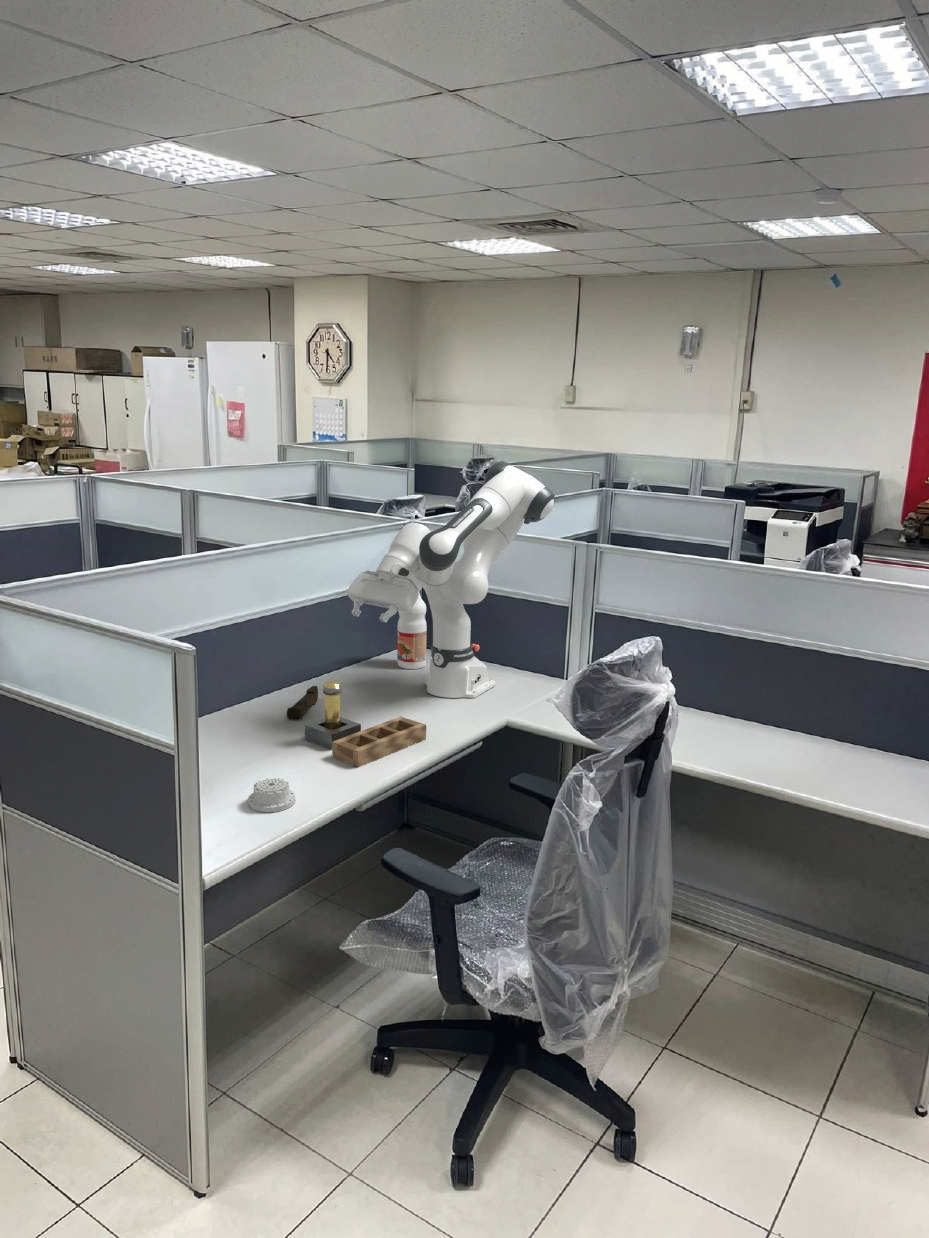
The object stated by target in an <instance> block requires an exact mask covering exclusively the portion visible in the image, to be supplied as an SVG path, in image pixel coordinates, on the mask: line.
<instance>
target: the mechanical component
mask: <svg viewBox="0 0 929 1238" xmlns="http://www.w3.org/2000/svg"><path fill="white" fill-rule="evenodd" d="M295 804H296V793H294V791H292V790H290V784H289V781H286V780H285V779H284V778H282V779H281V778H280V777H279V778H277V777H274V778H265V779H263V780H257V782H255V783H254V784H253V792H252V793H251V794H249V796H248V798H247V805H248V807H249V808H250V809H251V810H253V811H256V812H260V813H276V812H282V811H285V810H287V809H289V808H291V807H293V806H294V805H295Z"/></svg>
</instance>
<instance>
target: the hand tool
mask: <svg viewBox="0 0 929 1238" xmlns="http://www.w3.org/2000/svg"><path fill="white" fill-rule="evenodd" d="M305 692H306V693H305V695H303V696H302V697H301V698H300V699H299V700H298V701H297V702H296V703H294V704H293V705H292V706H291V707H287V710H286V718H287V719H288V720H289V721H299V720H301V718H302V717H303V715H304V713H305V712H306V711H308V710H309V709H310V708H311V706H315V705H316V704H317V703H316V702H318V699H319V688H318V686H317V685H312V686H310V687H309V688H308V689H307V690H306V691H305Z"/></svg>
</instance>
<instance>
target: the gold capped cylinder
mask: <svg viewBox="0 0 929 1238" xmlns="http://www.w3.org/2000/svg"><path fill="white" fill-rule="evenodd" d="M342 687H343V686H342V685H341V681H337V680H327V681H325V682H324V683H323V686H322V693H323V694H324V695H323V696H324V700H323V701H324V718H325V728H327V729H330V730H334V729H337V728H340V727H341V717H342V715H341V712H342V710H341V709H342V708H341V706H342V705H341V703H342V702H341V694H342V692H343V691H342V690H343V689H342Z"/></svg>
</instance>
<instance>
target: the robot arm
mask: <svg viewBox="0 0 929 1238" xmlns="http://www.w3.org/2000/svg"><path fill="white" fill-rule="evenodd" d="M555 495H556V494H555V493H554V492H553V491H552V490H551V489H550V488H549V487H548V486H545V485H544V484H543V483H541V482H540V481H539V480H538V479H537V478H535V477H534V476H532V475H531V474H529V473H526V472H525V471H523V470H521V469H519V468H518V467H515V466H513V465H512V464H511V463H509V462H507V461H504V460H501V461H497V462H495V463H493V464H492V465H491V466H490V468H489V469H488V470H487V471H486V474H485V476H484V478H483V486H482V487H480V489H478V491H477V492H475V494H474V495H473V496H472V497H471V499H470V501H469V502H468V503H467V504H466V506H465V507H463V509H461V510H460V511H459V512H458V513H457V514H455V515H454V517H452V518H451V519H450V521H448V522H447V523H446V524H444V525H443V526H442V527H439V528H437V529H435V530H432V531H431V530H430V528H429V527H427V526H426V525H423V524H422V523H420V522H419V523H418V522H410V523H407V524H405V525H403V526H402V528H401V529H400V530H399V531H398V532H397V534H396V536H395V538H393V540H392V542H391V543H390V545H389V548H388V552H387V553H386V554H385V555H384V556H383V557H382V559H381V562H380V563H379V564H378V567H377V568H376V570H375V571H370V570H365V571H363V572H361V573H359V574H358V576H356V577H355V579H354V580H353V581H352V583H351V584H350V586H349V587H348V589H347V590H346V594H347V596H348V599H350V600H351V601H352V602H353V608H352V611H351V615H352V616H353V617H360V614H361V613H362V610H361V609H360V607H361V606H363V604H366V605H370V606H374V607H375V606H376V607H381V608H386V609H387V610H386V611H385V612H381V613H380V616H379V621H380V622H382V623H387V622H388V621H389V619H391V617H393V616H394V615H396V614H397V612H398V610H399V611H404V612H408V611H410V610H411V609H412V608H413V606H414V605H415V603H416V601H417V598H418V595H419V592H420V591H421V590H422V589H423V590H424V592H425V594H426V597H427V600H428V603H429V607H430V611H431V617H432V644H431V647H430V651H431V652H430V653H431V654H430V656H431V657H432V658H431V659H430V663H429V671H428V679H427V680H426V683H425V685H426V687H427V688H426V692H427V693H429V694H430V695H431V696H432V695H433V696H435V697H441V698H449V699H451V698H452V699H455V698H456V699H458V698H472V699H474V698H477V697H479V696H480V695H482V694H483V693H486V692H487V691H488V690H490V689H491V688H493V687H495V686H496V685H497V684H496V683H497V682H496V681H495V680H494V679H492V678H489V671H488V666H487V665H486V664H485V663H484V662H482V661H481V660H479V659H478V658H477V657H476V656H475V653H474V652H479V650H480V645H479V644H476V643H472V644H471V633H472V632H471V630H472V629H471V628H472V627H471V625H472V622H471V618H470V615H468V613H467V612H466V609H465V606H464V605H475V604H479V603H480V602H482V601H483V600H484V599H485V597H486V596H487V594H488V591H489V581H488V580H489V579H488V576H489V573H490V570H491V569H492V567H493V565H494V564H495V562H496V561H497V560H498V559H499V557H500V556H501V555H502V554H503V553H504V551H505V550H506V549H507V548H508V547H509V546H510V544H511V543H512V541H513V540H514V539H515V537H516V536H517V535H518V532H520V530H521V528H522V526H523V524H524V525H529V524H531V523H537V522H540V521H542V520H544V519H545V518H546V517H548V516H549V514H550V513H551V512H552V509H553V508H554V505H555V501H556V497H555ZM462 544H463V545H462ZM461 546H462V548H463V552H462V555H461V557H460V558H459V559H458V560H457V561H456V559H457V557H458V555H459V552H460V549H461ZM418 591H419V592H418Z"/></svg>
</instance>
